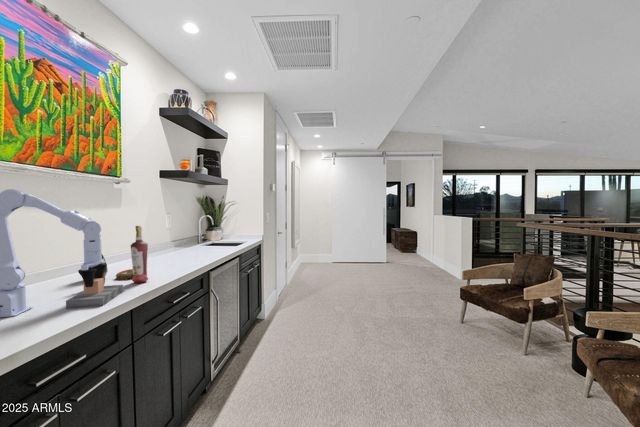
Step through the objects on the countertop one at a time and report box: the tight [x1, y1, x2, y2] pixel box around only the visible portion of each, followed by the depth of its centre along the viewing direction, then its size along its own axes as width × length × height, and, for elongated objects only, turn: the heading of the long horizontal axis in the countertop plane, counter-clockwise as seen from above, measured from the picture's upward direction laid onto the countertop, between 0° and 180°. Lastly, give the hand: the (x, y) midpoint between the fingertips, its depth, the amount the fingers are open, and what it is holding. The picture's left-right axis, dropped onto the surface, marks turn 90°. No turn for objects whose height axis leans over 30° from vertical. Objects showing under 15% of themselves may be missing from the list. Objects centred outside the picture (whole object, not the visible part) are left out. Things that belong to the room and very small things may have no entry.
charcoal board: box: [65, 284, 124, 310], centre depth 124 cm, size 20×12×3 cm, turn 14°
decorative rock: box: [115, 268, 133, 281], centre depth 164 cm, size 11×4×15 cm
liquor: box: [130, 225, 149, 284], centre depth 151 cm, size 7×7×28 cm
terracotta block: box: [83, 278, 105, 294], centre depth 124 cm, size 5×5×5 cm
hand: (93, 284), depth 124 cm, fingers open, 7 cm apart
